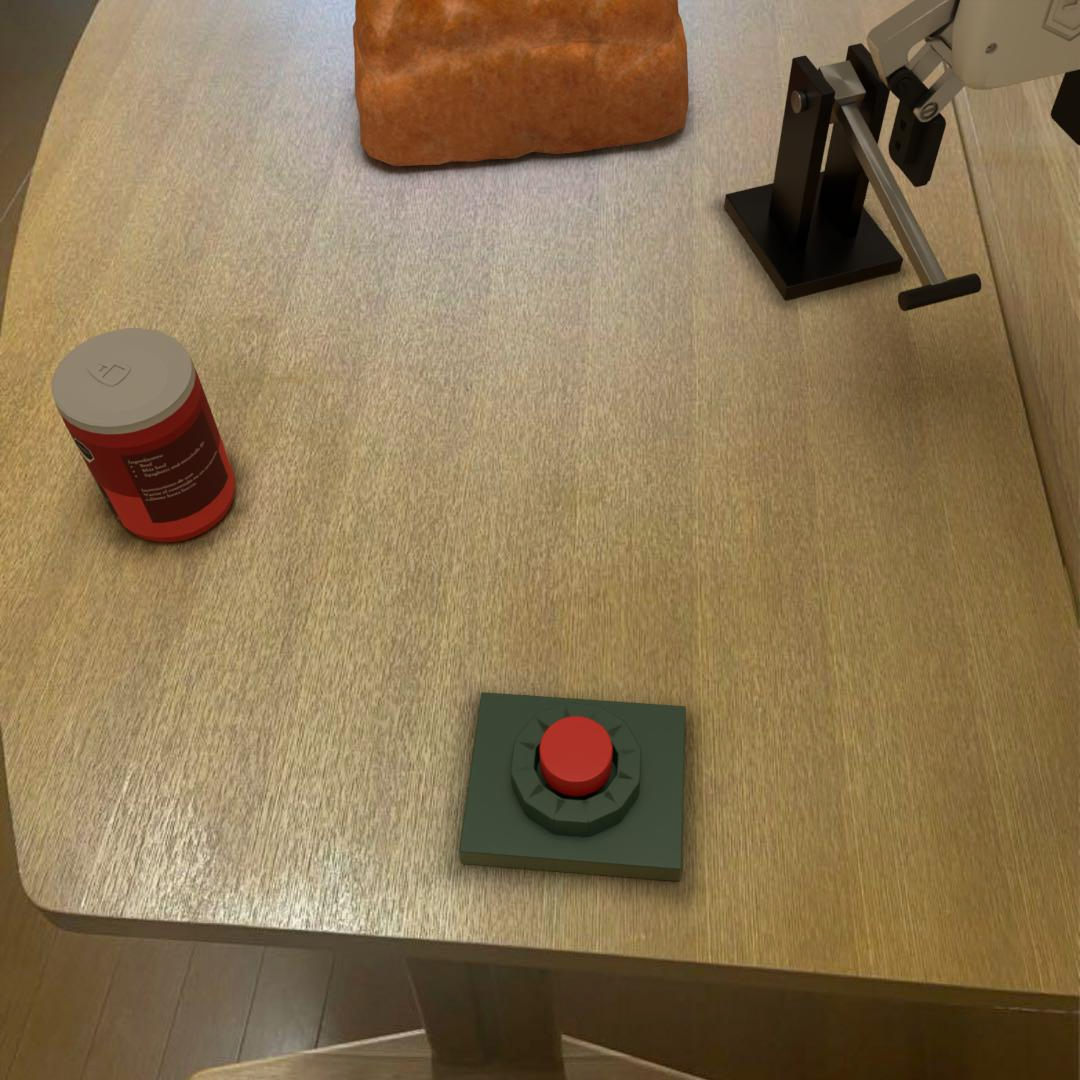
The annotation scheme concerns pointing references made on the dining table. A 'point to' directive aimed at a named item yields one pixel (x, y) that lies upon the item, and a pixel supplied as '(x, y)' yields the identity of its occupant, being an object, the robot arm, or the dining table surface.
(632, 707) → the button box
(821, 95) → the bracket
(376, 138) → the bread
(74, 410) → the canned food
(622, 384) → the dining table surface
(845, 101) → the lever
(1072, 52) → the robot arm
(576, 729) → the button
